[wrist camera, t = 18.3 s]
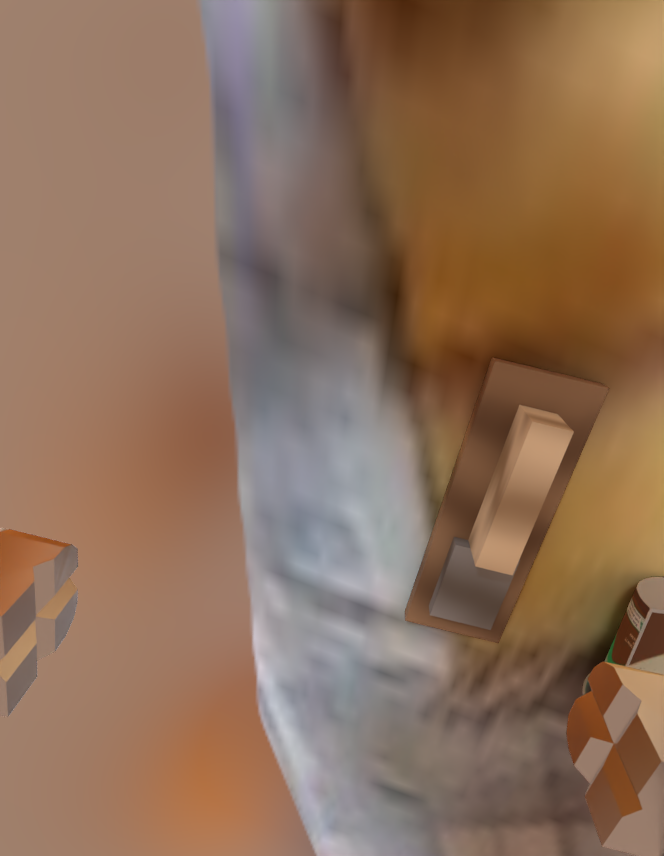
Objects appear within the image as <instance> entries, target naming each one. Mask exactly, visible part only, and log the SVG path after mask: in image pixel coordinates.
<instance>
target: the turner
mask: <svg viewBox="0 0 664 856" xmlns="http://www.w3.org/2000/svg"><path fill="white" fill-rule="evenodd" d="M573 433H574V431H573V430H572V429H571V428H570V427H569V426H568V425H567V424H566V423H565V422H564V420H563V419H562V418H561V417H560V416H559V415H558V414H555V413H551V412H547V411H543V410H539V409H535V408H531V407H527V406H522V405H519V407H518V410H517V413H516V415H515V418H514V421H513V423H512V426H511V428H510V431H509V434H508V436H507V439H506V442H505V444H504V447H503V450H502V452H501V455H500V458H499V460H498V463H497V465H496V468H495V471H494V473H493V476H492V479H491V481H490V484H489V487H488V489H487V492H486V495H485V497H484V500H483V502H482V505H481V508H480V510H479V513H478V516H477V518H476V521H475V524H474V526H473V529H472V532H471V534H470V537H469V539H468V540H466V539H461V538H457V537H454V538H453V541H452V543H451V546H450V549H449V552H448V554H447V557H446V560H445V563H444V565H443V568H442V571H441V573H440V576H439V579H438V582H437V584H436V587H435V590H434V593H433V595H432V598H431V601H430V604H429V613H430V615H431V616H435V617H439V618H443V619H447V620H451V621H455V622H459V623H464V624H468V625H472V626H476V627H480V628H484V629H488V630H491V628H492V626H493V623H494V621H495V619H496V616H497V614H498V612H499V609H500V607H501V605H502V602H503V600H504V598H505V595H506V593H507V591H508V588H509V586H510V584H511V581H512V579H513V577H514V574H515V572H516V570H517V567H518V565H519V563H520V557H521V555H522V552H523V550H524V548H525V545H526V543H527V541H528V538H529V536H530V534H531V531H532V529H533V527H534V524H535V522H536V519H537V517H538V515H539V512H540V510H541V508H542V505H543V503H544V501H545V498H546V496H547V494H548V491H549V489H550V487H551V484H552V482H553V480H554V477H555V475H556V473H557V470H558V468H559V466H560V463H561V461H562V459H563V456H564V454H565V452H566V449H567V447H568V445H569V442H570V440H571V438H572V435H573Z"/></svg>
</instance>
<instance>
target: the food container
mask: <svg viewBox="0 0 664 856" xmlns="http://www.w3.org/2000/svg"><path fill="white" fill-rule="evenodd" d="M604 662H608V663H613V664H617V665H622V666H627V667H631V668H636V669H641V670H645V671H650V672H655V673H659V674H663V675H664V577H649V578H646V579H643V580H640V581H639V583H638V585H637V587H636V589H635V591H634V594H633V596H632V598H631V601H630V603H629V605H628V608H627V610H626V612H625V615H624V617H623V619H622V622H621V624H620V626H619V629H618V631H617V633H616V636H615V638H614V640H613V643H612V645H611V647H610V650H609V652H608V654H607V657H606V659H605V661H604ZM590 674H591V673H590ZM590 674H589V675H590ZM589 675H588V676H587V677H586V679H585V680H584V684H583V689H582V696H583V695H585V694H587V693H589V692H590V691H591V688H590V685H589V682H588V677H589Z"/></svg>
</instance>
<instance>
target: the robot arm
mask: <svg viewBox="0 0 664 856" xmlns="http://www.w3.org/2000/svg"><path fill="white" fill-rule="evenodd" d="M77 551H78V550H77V548H76V547H75V546H73V545H72V544H69V543H65V542H61V541H57V540H52V539H49V538H45V537H40V536H36V535H32V534H28V533H24V532H20V531H16V530H12V529H5V528H1V527H0V716H6V717H8V716H9V715H10V713H11V712H12V711H13V709H14V708H15V706H16V705H17V704H18V702H19V701H20V700H21V698H22V697H23V695H24V694H25V693H26V691H27V690H28V688H29V687H30V686H31V684H32V683H33V682H34V680H35V679H36V677H37V661H38V660H40V659H42V658H44V657H46V656H48V655H50V654H51V653H53V652H55V651H56V649H57V648H58V646H59V645H60V644H61V642H62V641H63V639H64V638H65V636H66V634H67V632H68V630H69V627H70V624H71V623H72V620H73V618H74V615H75V610H76V605H77V594H78V590H77V588H76V586H75V585H74V584H73V582H72V581H71V579H70V578H69V577H70V576H71V575H72V573H73V572H74V571H75V570H76V568H77V567H78V554H77V553H78V552H77ZM588 682H589V685H590V688H591V691H590V692H589V693H587V694H585V695H583V696H581V697H579V698H577V699H576V700H575V702H574V704H573V706H572V708H571V710H570V712H569V714H568V723H567V732H566V734H567V741H568V749H569V752H570V755H571V758H572V761H573V764H574V766H575V767H576V768H577V770H578V771H579V772H580V773H581V774H582V775H583V776H584V777H585V779H586V780H587V781H588V782H589V786H588V788H587V791H586V794H585V799H586V802H587V805H588V808H589V811H590V814H591V817H592V819H593V822H594V825H595V828H596V831H597V834H598V837H599V839H600V842H601V845H602V847H606V848H610V849H614V850H618V851H622V852H626V853H630V854H634V855H638V856H664V675H663V674H659V673H655V672H650V671H645V670H641V669H636V668H631V667H627V666H622V665H617V664H613V663H608V662H601V663H600V664H598V665H597V666H595V667H594V668H593V670H592V672H591V674H590V675H589V677H588Z"/></svg>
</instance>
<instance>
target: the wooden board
mask: <svg viewBox="0 0 664 856" xmlns="http://www.w3.org/2000/svg"><path fill="white" fill-rule="evenodd" d="M608 390H609V388H608V387H607V386H605V385H604V384H601V383H597V382H593V381H589V380H585V379H581V378H576V377H572V376H568V375H564V374H560V373H556V372H552V371H547V370H543V369H539V368H535V367H531V366H527V365H522V364H518V363H514V362H510V361H506V360H502V359H498V358H493V357H492V359H491V361H490V364H489V367H488V370H487V373H486V376H485V379H484V382H483V385H482V388H481V391H480V394H479V396H478V399H477V402H476V405H475V408H474V411H473V414H472V417H471V420H470V423H469V426H468V429H467V431H466V434H465V437H464V440H463V443H462V446H461V449H460V452H459V455H458V458H457V461H456V464H455V466H454V469H453V472H452V475H451V478H450V481H449V484H448V487H447V490H446V493H445V496H444V499H443V502H442V504H441V507H440V510H439V513H438V516H437V519H436V522H435V525H434V528H433V531H432V534H431V537H430V539H429V542H428V545H427V548H426V551H425V554H424V557H423V560H422V563H421V566H420V569H419V572H418V574H417V577H416V580H415V583H414V586H413V589H412V592H411V595H410V598H409V601H408V604H407V607H406V609H405V621H409V622H413V623H417V624H421V625H426V626H430V627H434V628H438V629H442V630H446V631H450V632H455V633H459V634H463V635H467V636H471V637H475V638H479V639H484V640H488V641H492V642H496V643H499V640H500V638H501V636H502V633H503V631H504V629H505V627H506V624H507V622H508V620H509V617H510V615H511V613H512V611H513V608H514V606H515V604H516V601H517V599H518V597H519V594H520V592H521V590H522V588H523V585H524V583H525V581H526V578H527V576H528V574H529V572H530V569H531V567H532V565H533V562H534V560H535V558H536V556H537V553H538V551H539V549H540V546H541V544H542V542H543V539H544V537H545V535H546V533H547V530H548V528H549V526H550V523H551V521H552V519H553V517H554V514H555V512H556V510H557V507H558V505H559V503H560V500H561V498H562V496H563V494H564V491H565V489H566V487H567V484H568V482H569V480H570V478H571V475H572V473H573V471H574V468H575V466H576V464H577V462H578V459H579V457H580V455H581V452H582V450H583V448H584V445H585V443H586V441H587V439H588V436H589V434H590V432H591V429H592V427H593V425H594V423H595V420H596V418H597V416H598V413H599V411H600V409H601V407H602V404H603V402H604V400H605V397H606V395H607V393H608ZM519 405H522V406H527V407H531V408H535V409H539V410H543V411H547V412H551V413H555V414H558V415H559V416H560V417H561V418H562V419H563V420H564V422H565V423H566V424H567V425H568V426H569V427H570V428H571V429H572V430H573V431H574V433H573V435H572V438H571V440H570V442H569V445H568V447H567V449H566V452H565V454H564V456H563V459H562V461H561V463H560V466H559V468H558V470H557V473H556V475H555V477H554V480H553V482H552V484H551V487H550V489H549V491H548V494H547V496H546V498H545V501H544V503H543V505H542V508H541V510H540V512H539V515H538V517H537V519H536V522H535V524H534V527H533V529H532V531H531V534H530V536H529V538H528V541H527V543H526V545H525V548H524V550H523V552H522V555H521V557H520V563H519V565H518V567H517V570H516V572H515V574H514V577H513V579H512V581H511V584H510V586H509V588H508V591H507V593H506V595H505V598H504V600H503V602H502V605H501V607H500V609H499V612H498V614H497V616H496V619H495V621H494V623H493V626H492V628H491V630H488V629H484V628H480V627H476V626H472V625H468V624H464V623H459V622H455V621H451V620H447V619H443V618H439V617H435V616H431V615H430V613H429V604H430V601H431V598H432V595H433V593H434V590H435V587H436V584H437V582H438V579H439V576H440V573H441V571H442V568H443V565H444V563H445V560H446V557H447V554H448V552H449V549H450V546H451V543H452V541H453V538H454V537H457V538H461V539H466V540H468V539H469V537H470V534H471V532H472V529H473V526H474V524H475V521H476V518H477V516H478V513H479V510H480V508H481V505H482V502H483V500H484V497H485V495H486V492H487V489H488V487H489V484H490V481H491V479H492V476H493V473H494V471H495V468H496V465H497V463H498V460H499V458H500V455H501V452H502V450H503V447H504V444H505V442H506V439H507V436H508V434H509V431H510V428H511V426H512V423H513V421H514V418H515V415H516V413H517V410H518V407H519Z"/></svg>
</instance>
